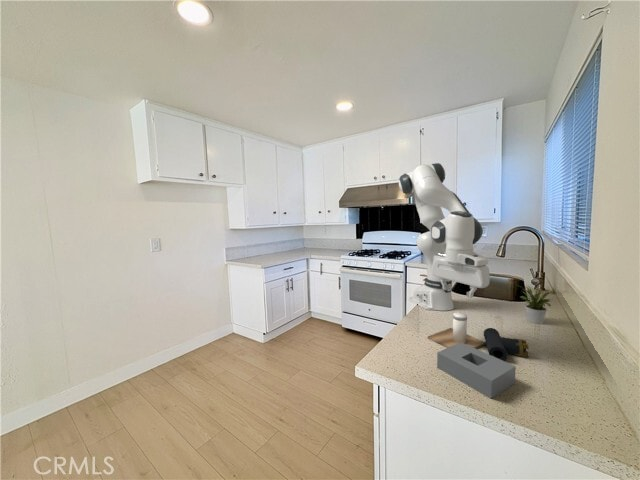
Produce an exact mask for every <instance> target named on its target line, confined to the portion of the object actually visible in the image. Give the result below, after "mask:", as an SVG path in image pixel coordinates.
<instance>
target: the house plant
mask: <svg viewBox="0 0 640 480" xmlns="http://www.w3.org/2000/svg"><path fill="white" fill-rule="evenodd" d="M516 286H517V287H519V288H522V286H520V285H516ZM543 290H544V288H542V289H541V288H540V285H538V286H537V288H536V291H535V294H533V291H532V287H530V286H529V285H525V289H524V291H522V290H521V291H520V292H522V293H523V294H524V295H525V296H524V295H521V296H520V298H521V299H523V300H525V301H526V305H525V311H526V312H525V313H526V319H527V321H528V322H529V323H532V324H537V325H542V324H544V321H545V317H546V314H547V311H548V310H547V308H546V305H547V306H548V307H550V309H551V306H552V305H551V304H550V303H549V302H551V303H552V300H551V299H549V298H546V297H547V296H549V295H551V294H553V295H554V293H553V291H554V289H550V290H548V291H547V292H545V293H544V294H542V293H541V292H542V291H543Z"/></svg>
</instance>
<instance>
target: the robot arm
mask: <svg viewBox="0 0 640 480" xmlns="http://www.w3.org/2000/svg"><path fill="white" fill-rule="evenodd" d="M445 179H446V169H445V168H444V166H443V165H442V164H441V163H440V162H436V163H431V164H420V165H417V167H415V168H414V170H410V171H409V172H407V173H406V172H405V173H403V174H402V175H400V177H399V179H398V188H399V190H400V191H401V192H402V193H403V194H404V195H410V194H412V193H413V194H414V202H415V207H416V211H417V213H418V216H419V221H420V222H421V224H422V225H423V226H425V227H426V228H427V229H428V231H426V232H423V233H421V234H419V235H418V237H417V238H416V239H417V240H416V246H417V249H418V250H419V251H420V252H421V253H422V254H423V256H424V259H425V261H426V273H427V275H426V278H423V279H422V282H424V284H421V285H420V286H418V287H417V288H415V289H414V291H413V296H411V297H410V298H409V299H408V301H409V302H410V303H413V304H415V305H417V304H418V305H417V306H418V307H421V309H425V310H427V311H428V310H429V311H430V310H431V311H433V310H434V311H440V312H441V311H451V310H454V309H455V306H454V302H453V296H452V289H453V282H456V283H460V284H464V285H466V286H467V285H468V286H469V289H470V290H469V291H466V297H467V298H470V299H472V298H473V297H474V293H475V292H476V291H477V290H478V288H479V289H485V288H487V287H488V286H489V285H490V283H491V282H490V279H491V278H490V276H491V275H490V268H489V267H488V264H489V259H488V258H487V257H486V256H483V255H480V254H479V253H477V252H475V251H474V248H475V247H474V245H475V244H476V243H478V241H480V240H481V238H482V236H483V233H484V230H483V227H482V224H481V223H480V222H479V221H478V220H477V219H476V218H475V217H474V216H473V213H471V212H470V211H469V210H468V209H467V207H466V206H465V204H464V203H463V202H462V200H461V199H460V198H459V196H457V194H456V193H455V192H453V191H452V190H451V189H449V188H448V187H446V185H445V184H443V183H444V181H445ZM442 209H445V210H447V211H449V213H448V215H447V216H446V217H445V215H444V212H443V210H442ZM420 301H421V302H420ZM419 302H420V303H419Z"/></svg>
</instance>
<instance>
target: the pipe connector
mask: <svg viewBox="0 0 640 480" xmlns="http://www.w3.org/2000/svg"><path fill="white" fill-rule="evenodd" d="M483 338H484V341H485V342H486V345H485V346H486V348H487V352H488V354H489V355H491V356H493V357H496V358H498V359H500V360H502V361H505V362H506V360H507V359H508V354H509V355H515V356H518V357H525V358H529V352H528V351H527V350H529V348H530V347H529V344H528V343H527V340H526V339H520V338H510V337H502V336H501V334H500V333H499V331H498V330H497V329H495V328H493V327H488V328H485V329H484V331H483Z"/></svg>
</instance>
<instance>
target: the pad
mask: <svg viewBox="0 0 640 480" xmlns="http://www.w3.org/2000/svg"><path fill="white" fill-rule="evenodd" d="M427 339H428V340H431V341H432V342H434V343H436V344H439V345H441V346H442V347H444V348H445V349H446V348H449V347H451V346H453V345H456V344H458V343H456V342H454V341H453V327H449V328H447V329H446V328H445V329H444V330H441V331H439V332H435V333H433V334H430V335H428V336H427ZM465 344H466V345H469V346H471V347H473V348H475V349H479V348H481V347H483V346H487V345H486V341H485V340H482V339H479V338H477V337H475V336H472V335H469V334H468V333H466V343H465Z"/></svg>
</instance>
